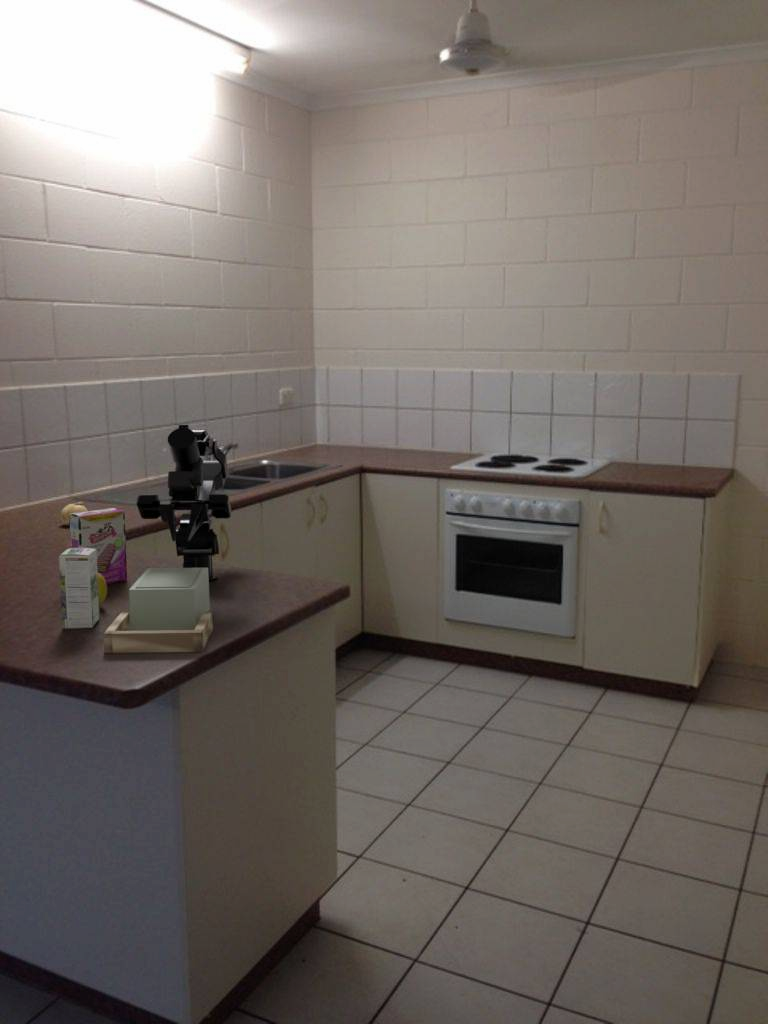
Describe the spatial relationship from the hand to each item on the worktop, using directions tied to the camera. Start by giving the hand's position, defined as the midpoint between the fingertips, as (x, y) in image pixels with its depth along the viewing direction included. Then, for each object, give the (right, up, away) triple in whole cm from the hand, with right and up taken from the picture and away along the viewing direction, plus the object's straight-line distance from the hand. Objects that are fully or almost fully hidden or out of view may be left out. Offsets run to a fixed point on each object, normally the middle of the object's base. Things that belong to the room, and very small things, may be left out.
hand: (180, 540), depth 187 cm
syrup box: (-17, -16, -10) cm, 25 cm away
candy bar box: (-22, -10, +19) cm, 31 cm away
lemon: (-18, -14, 0) cm, 23 cm away
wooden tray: (+1, -18, -20) cm, 27 cm away
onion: (-49, +2, +84) cm, 97 cm away
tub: (0, -16, -9) cm, 18 cm away
